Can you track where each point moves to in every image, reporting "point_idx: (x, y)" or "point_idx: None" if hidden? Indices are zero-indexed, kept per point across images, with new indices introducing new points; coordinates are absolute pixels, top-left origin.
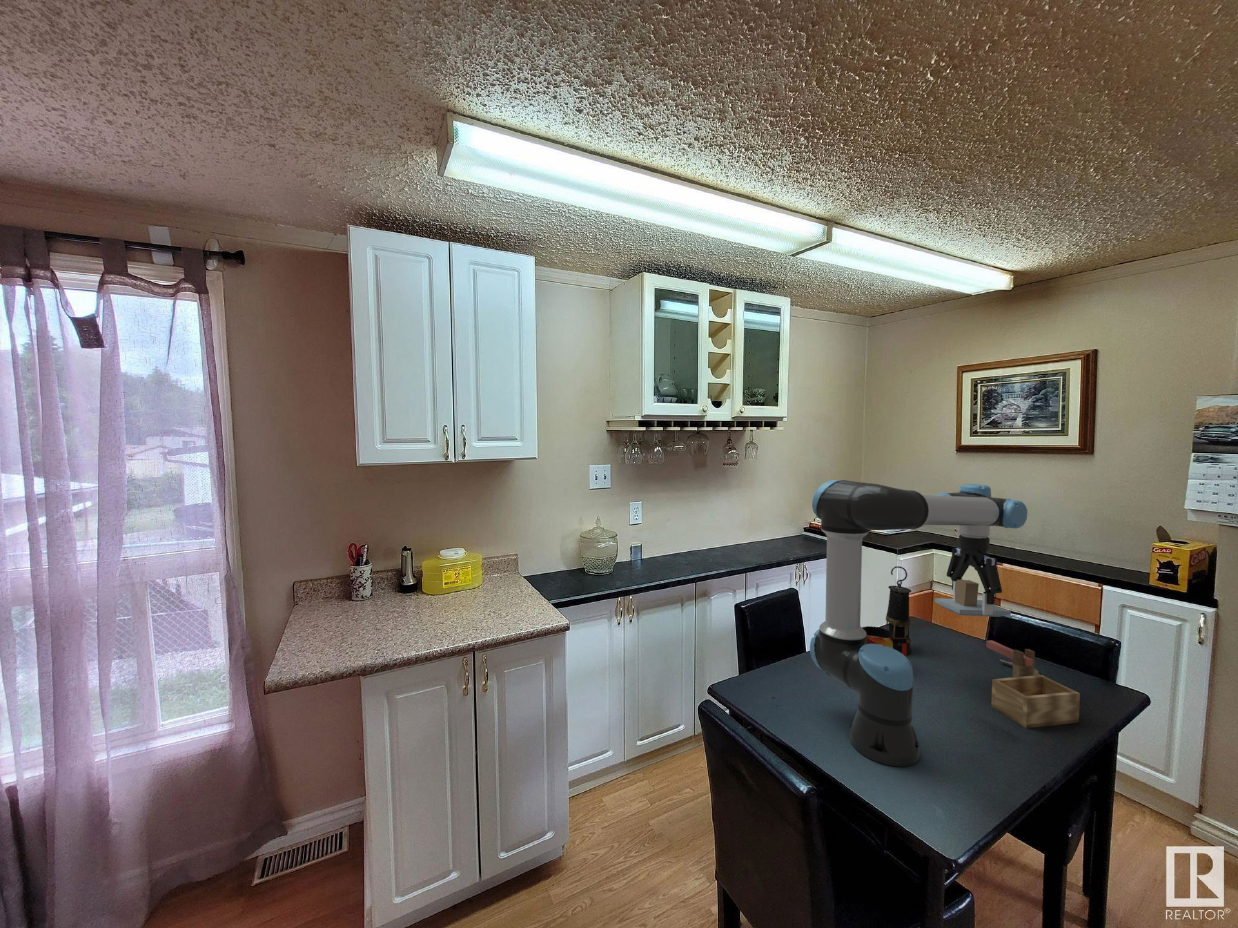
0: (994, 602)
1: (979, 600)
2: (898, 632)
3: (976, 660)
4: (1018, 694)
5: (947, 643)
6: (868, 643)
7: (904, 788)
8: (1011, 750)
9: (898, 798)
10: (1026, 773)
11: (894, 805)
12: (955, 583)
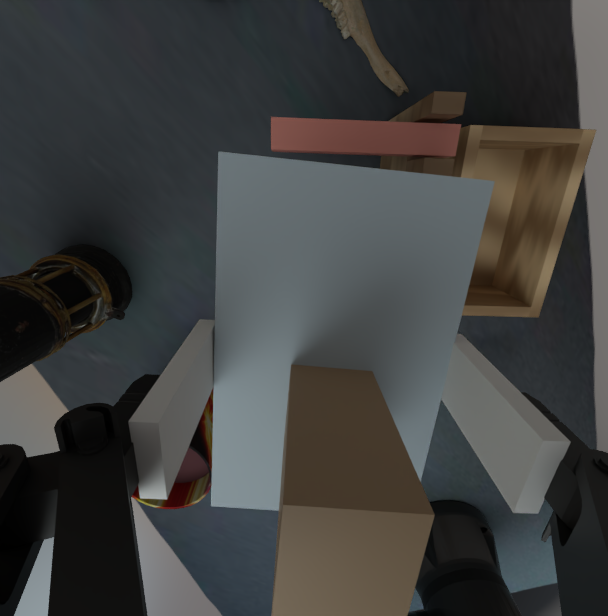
0: (543, 406)
1: (232, 200)
2: (77, 320)
3: (175, 77)
4: (513, 316)
5: (28, 56)
6: (196, 484)
7: (513, 555)
8: (525, 379)
9: (522, 568)
10: (570, 406)
11: (528, 576)
12: (172, 481)
